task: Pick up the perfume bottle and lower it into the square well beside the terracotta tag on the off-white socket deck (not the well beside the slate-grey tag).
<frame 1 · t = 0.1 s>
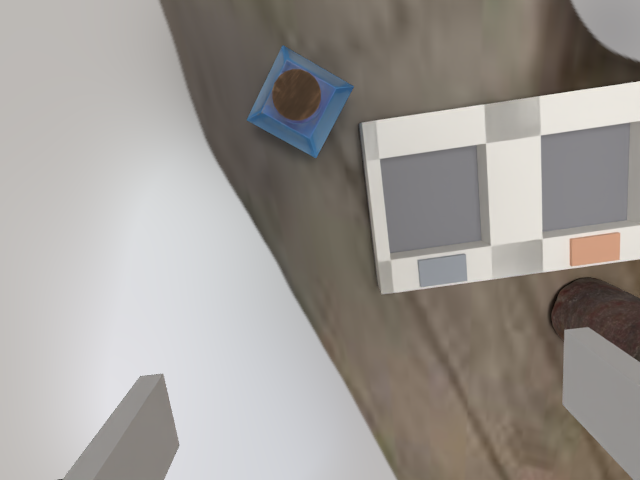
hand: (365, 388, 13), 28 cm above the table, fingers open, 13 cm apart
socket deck: (501, 189, 40), on the table
perfume bottle: (302, 109, 38), on the table
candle: (582, 310, 43), on the table
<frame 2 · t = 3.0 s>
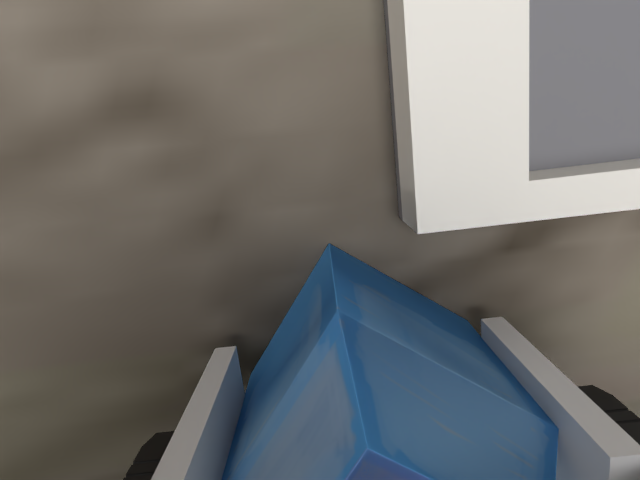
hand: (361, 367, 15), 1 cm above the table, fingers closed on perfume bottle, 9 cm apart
perfume bottle: (356, 345, 16), on the table, touching gripper
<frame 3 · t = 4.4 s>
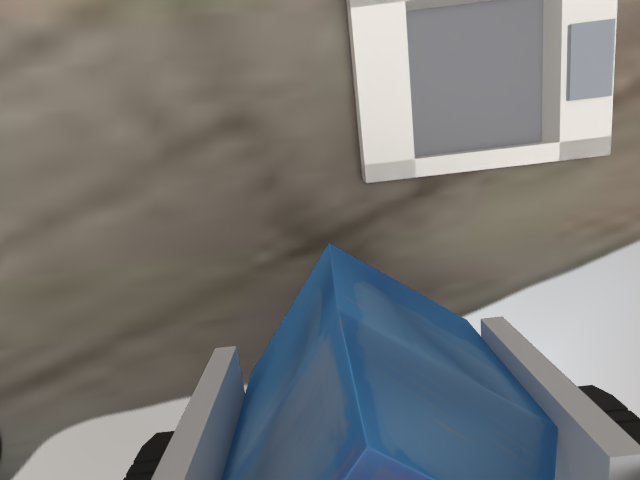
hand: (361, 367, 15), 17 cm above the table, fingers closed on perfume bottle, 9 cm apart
perfume bottle: (356, 344, 16), point 15 cm above the table, touching gripper
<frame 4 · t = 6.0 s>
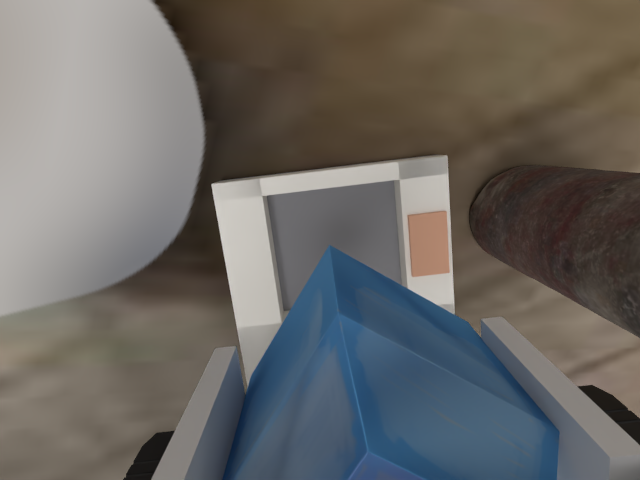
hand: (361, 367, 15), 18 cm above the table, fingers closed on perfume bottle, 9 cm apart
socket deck: (345, 328, 33), on the table
perfume bottle: (357, 346, 16), point 16 cm above the table, touching gripper
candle: (516, 211, 32), on the table
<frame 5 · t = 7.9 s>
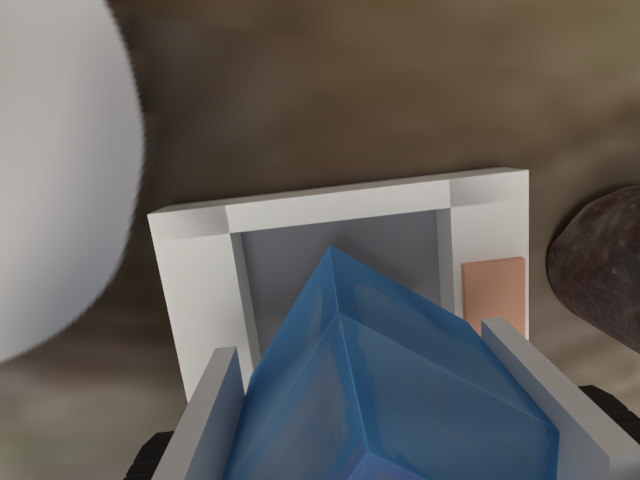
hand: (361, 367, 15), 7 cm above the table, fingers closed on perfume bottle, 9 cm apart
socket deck: (358, 419, 23), on the table
perfume bottle: (357, 346, 16), point 5 cm above the table, touching gripper
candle: (616, 250, 21), on the table
when the fingers open (4 cm above the table, at t = 9.4 s): perfume bottle drops 2 cm, resting on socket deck.
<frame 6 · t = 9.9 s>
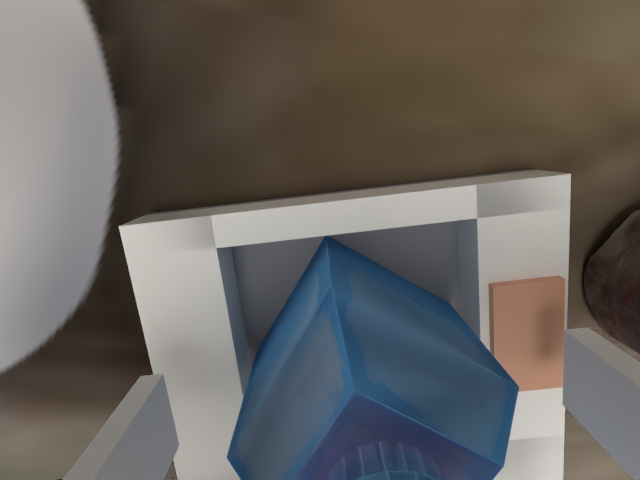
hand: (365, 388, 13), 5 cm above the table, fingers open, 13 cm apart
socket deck: (366, 454, 20), on the table
perfume bottle: (351, 326, 18), resting on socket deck
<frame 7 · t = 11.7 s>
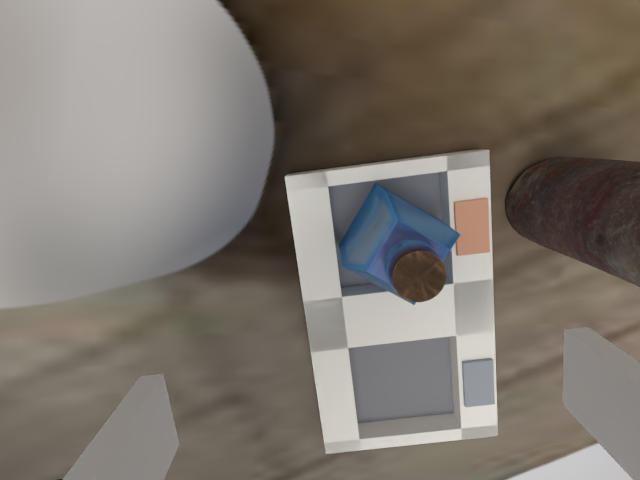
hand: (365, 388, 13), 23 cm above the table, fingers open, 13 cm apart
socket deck: (394, 303, 38), on the table
perfume bottle: (387, 231, 36), resting on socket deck
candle: (546, 198, 36), on the table
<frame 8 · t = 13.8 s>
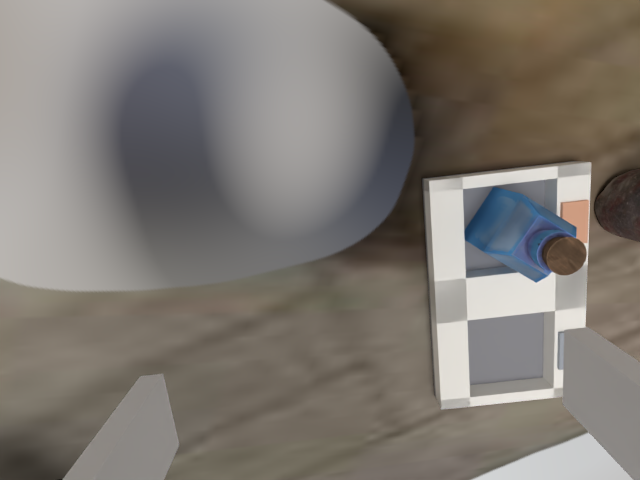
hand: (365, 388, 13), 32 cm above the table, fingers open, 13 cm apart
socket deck: (499, 285, 46), on the table
perfume bottle: (499, 225, 44), resting on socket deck
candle: (627, 201, 44), on the table
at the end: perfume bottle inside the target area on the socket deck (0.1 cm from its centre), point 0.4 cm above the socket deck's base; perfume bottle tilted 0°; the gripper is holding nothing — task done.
